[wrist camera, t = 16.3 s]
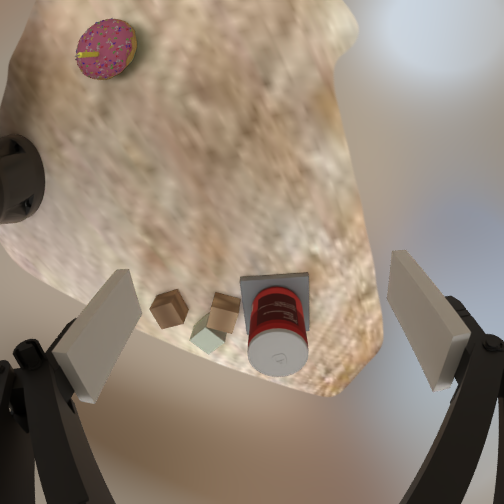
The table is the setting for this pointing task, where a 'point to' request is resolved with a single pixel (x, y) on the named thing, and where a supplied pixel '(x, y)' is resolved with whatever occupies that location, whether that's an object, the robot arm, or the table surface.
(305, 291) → the plate
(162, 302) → the walnut block
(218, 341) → the sage painted block
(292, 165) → the table surface
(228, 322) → the teak block
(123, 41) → the cupcake
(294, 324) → the canned food
